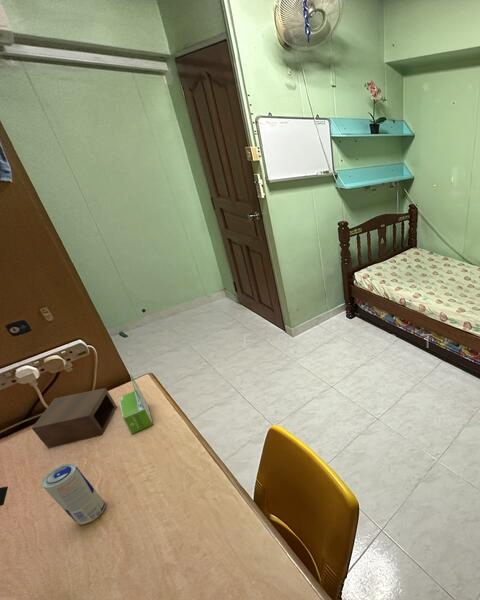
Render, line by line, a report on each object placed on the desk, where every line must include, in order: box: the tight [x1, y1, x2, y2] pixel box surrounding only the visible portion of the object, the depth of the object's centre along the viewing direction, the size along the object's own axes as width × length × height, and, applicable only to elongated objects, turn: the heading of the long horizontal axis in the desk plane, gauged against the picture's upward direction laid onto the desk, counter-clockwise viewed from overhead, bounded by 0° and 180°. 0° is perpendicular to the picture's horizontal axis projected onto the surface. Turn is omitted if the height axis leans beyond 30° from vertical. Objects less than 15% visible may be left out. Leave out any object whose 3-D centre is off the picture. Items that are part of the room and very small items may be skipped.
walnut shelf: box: [31, 387, 118, 449], centre depth 89 cm, size 12×11×8 cm
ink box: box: [118, 371, 154, 435], centre depth 90 cm, size 10×5×14 cm, turn 43°
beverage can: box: [40, 462, 106, 525], centre depth 67 cm, size 5×5×15 cm
